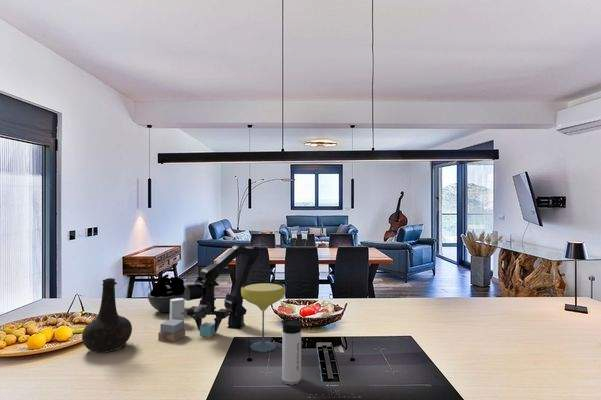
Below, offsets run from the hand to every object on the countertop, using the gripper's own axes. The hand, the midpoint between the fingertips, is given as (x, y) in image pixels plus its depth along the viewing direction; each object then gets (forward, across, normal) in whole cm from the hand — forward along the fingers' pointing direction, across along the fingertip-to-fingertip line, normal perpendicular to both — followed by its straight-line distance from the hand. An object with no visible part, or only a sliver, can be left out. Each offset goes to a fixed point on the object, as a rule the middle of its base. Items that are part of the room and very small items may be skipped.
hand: (207, 331), depth 164 cm
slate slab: (-2, -13, -8) cm, 15 cm away
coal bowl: (+1, -38, +25) cm, 45 cm away
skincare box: (+1, -21, +8) cm, 23 cm away
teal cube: (+1, 0, 0) cm, 1 cm away
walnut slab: (+2, -13, -8) cm, 15 cm away
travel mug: (+1, +48, -31) cm, 57 cm away
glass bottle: (+1, -31, -25) cm, 40 cm away
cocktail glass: (+1, +29, -7) cm, 30 cm away
